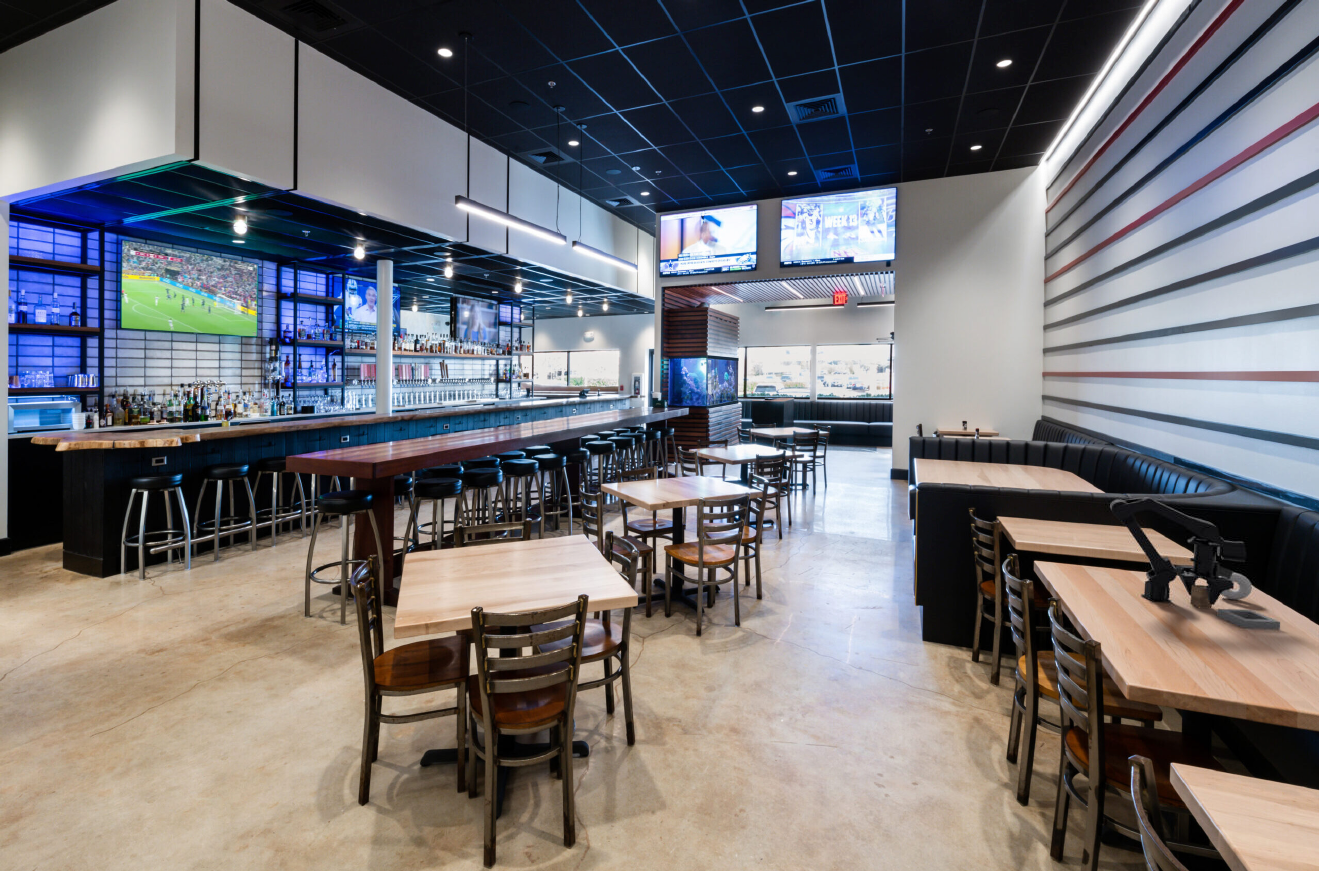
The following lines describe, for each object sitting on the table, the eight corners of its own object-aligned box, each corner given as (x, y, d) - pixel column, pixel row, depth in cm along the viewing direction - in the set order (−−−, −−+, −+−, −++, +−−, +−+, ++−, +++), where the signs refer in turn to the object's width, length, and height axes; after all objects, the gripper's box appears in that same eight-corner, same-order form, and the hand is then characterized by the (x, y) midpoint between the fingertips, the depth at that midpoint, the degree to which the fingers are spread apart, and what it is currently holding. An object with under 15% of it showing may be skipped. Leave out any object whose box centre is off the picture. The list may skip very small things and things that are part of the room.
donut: (1214, 598, 223) (1216, 571, 222) (1213, 595, 226) (1215, 569, 225) (1252, 603, 217) (1254, 576, 216) (1249, 600, 220) (1251, 573, 219)
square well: (1244, 628, 195) (1245, 621, 195) (1217, 616, 205) (1217, 609, 205) (1279, 629, 194) (1280, 622, 194) (1250, 616, 205) (1250, 609, 204)
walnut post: (1199, 607, 213) (1200, 588, 212) (1190, 603, 217) (1191, 585, 216) (1211, 608, 213) (1212, 589, 212) (1202, 604, 217) (1203, 585, 216)
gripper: (1252, 565, 203) (1248, 610, 205) (1206, 550, 222) (1203, 591, 223) (1217, 564, 204) (1214, 609, 206) (1174, 549, 223) (1172, 590, 224)
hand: (1201, 599), depth 215 cm, fingers open, 9 cm apart
